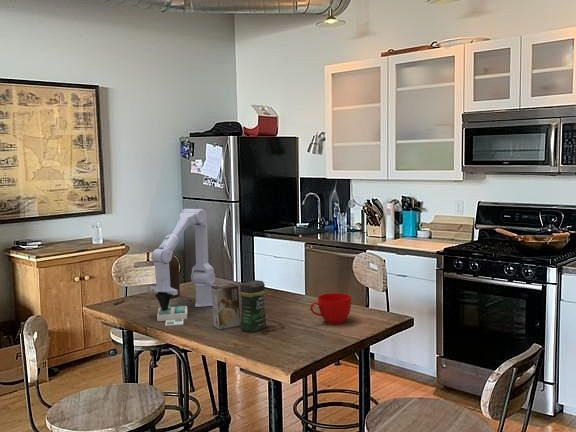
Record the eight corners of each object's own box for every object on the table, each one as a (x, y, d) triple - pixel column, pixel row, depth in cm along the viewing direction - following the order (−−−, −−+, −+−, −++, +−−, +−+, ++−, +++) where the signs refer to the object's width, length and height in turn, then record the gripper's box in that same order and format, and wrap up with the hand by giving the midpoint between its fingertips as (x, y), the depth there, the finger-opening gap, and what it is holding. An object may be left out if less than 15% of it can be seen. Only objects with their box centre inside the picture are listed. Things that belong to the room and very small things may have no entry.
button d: (169, 315, 247) (169, 310, 247) (169, 318, 243) (169, 312, 243) (160, 316, 246) (160, 310, 246) (160, 319, 243) (159, 313, 242)
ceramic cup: (304, 321, 234) (303, 296, 233) (341, 315, 240) (341, 291, 239) (318, 330, 222) (317, 304, 221) (357, 323, 229) (357, 298, 228)
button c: (170, 309, 253) (170, 303, 252) (170, 311, 249) (169, 305, 249) (161, 310, 252) (160, 304, 252) (160, 312, 248) (160, 306, 248)
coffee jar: (253, 333, 220) (251, 284, 218) (237, 330, 225) (235, 282, 223) (270, 327, 228) (268, 280, 226) (254, 324, 233) (252, 277, 231)
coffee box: (234, 322, 237) (232, 282, 235) (240, 325, 231) (239, 285, 229) (213, 325, 233) (211, 285, 231) (218, 329, 227) (216, 288, 225)
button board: (187, 311, 255) (187, 305, 255) (187, 319, 243) (186, 313, 243) (159, 313, 253) (158, 308, 253) (157, 321, 241) (157, 315, 241)
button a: (184, 311, 254) (184, 305, 253) (184, 313, 250) (184, 307, 250) (175, 311, 253) (175, 306, 253) (175, 314, 249) (175, 308, 249)
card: (183, 319, 243) (183, 318, 242) (183, 324, 236) (183, 323, 236) (166, 321, 241) (166, 319, 241) (165, 325, 235) (165, 324, 235)
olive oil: (185, 296, 283) (182, 244, 280) (164, 300, 277) (161, 247, 274) (175, 292, 291) (172, 242, 289) (154, 296, 285) (151, 245, 282)
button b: (184, 312, 248) (184, 306, 247) (184, 314, 244) (183, 308, 244) (175, 312, 247) (174, 306, 247) (174, 315, 243) (174, 309, 243)
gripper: (143, 278, 244) (145, 310, 246) (167, 281, 236) (169, 314, 237) (156, 274, 250) (158, 306, 251) (180, 278, 241) (182, 310, 243)
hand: (164, 310), depth 244 cm, fingers closed
